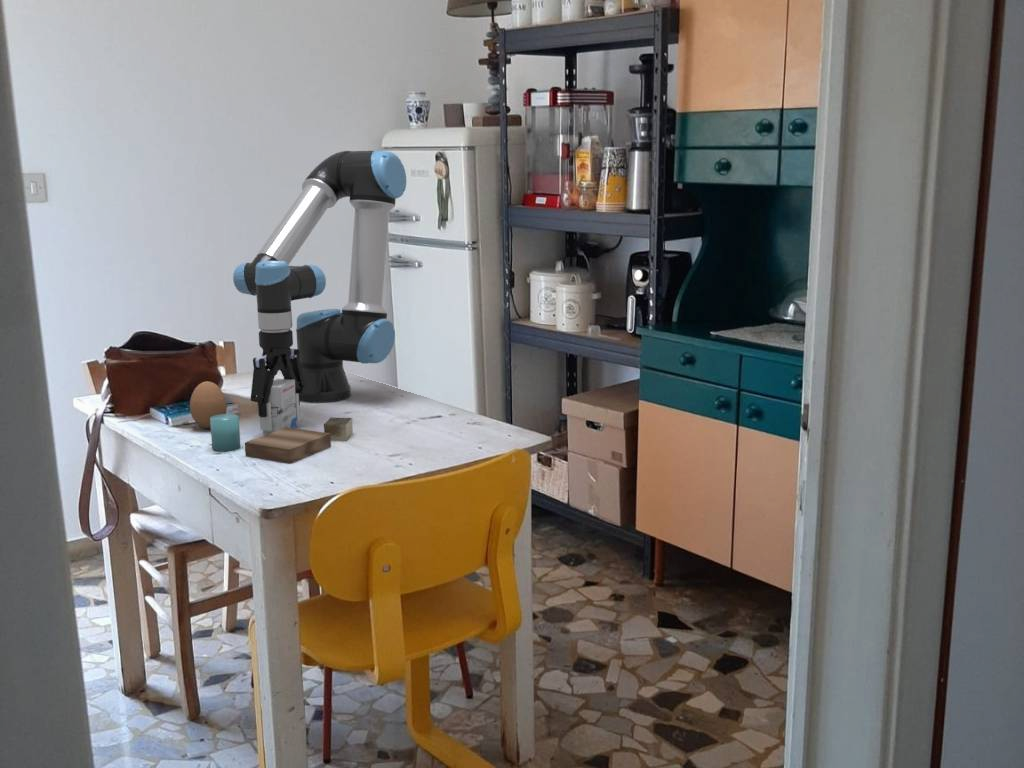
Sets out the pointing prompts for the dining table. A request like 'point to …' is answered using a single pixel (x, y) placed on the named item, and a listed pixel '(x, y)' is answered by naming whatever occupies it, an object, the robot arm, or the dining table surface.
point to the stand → (288, 445)
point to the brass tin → (339, 428)
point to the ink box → (282, 405)
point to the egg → (207, 403)
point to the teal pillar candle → (225, 432)
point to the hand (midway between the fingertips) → (280, 424)
